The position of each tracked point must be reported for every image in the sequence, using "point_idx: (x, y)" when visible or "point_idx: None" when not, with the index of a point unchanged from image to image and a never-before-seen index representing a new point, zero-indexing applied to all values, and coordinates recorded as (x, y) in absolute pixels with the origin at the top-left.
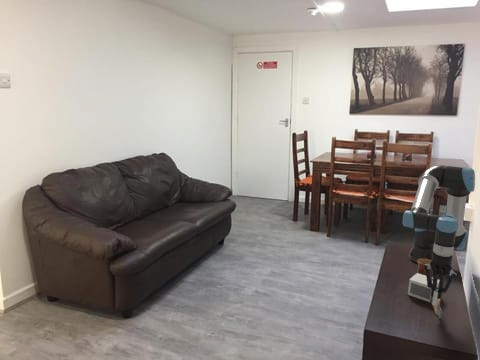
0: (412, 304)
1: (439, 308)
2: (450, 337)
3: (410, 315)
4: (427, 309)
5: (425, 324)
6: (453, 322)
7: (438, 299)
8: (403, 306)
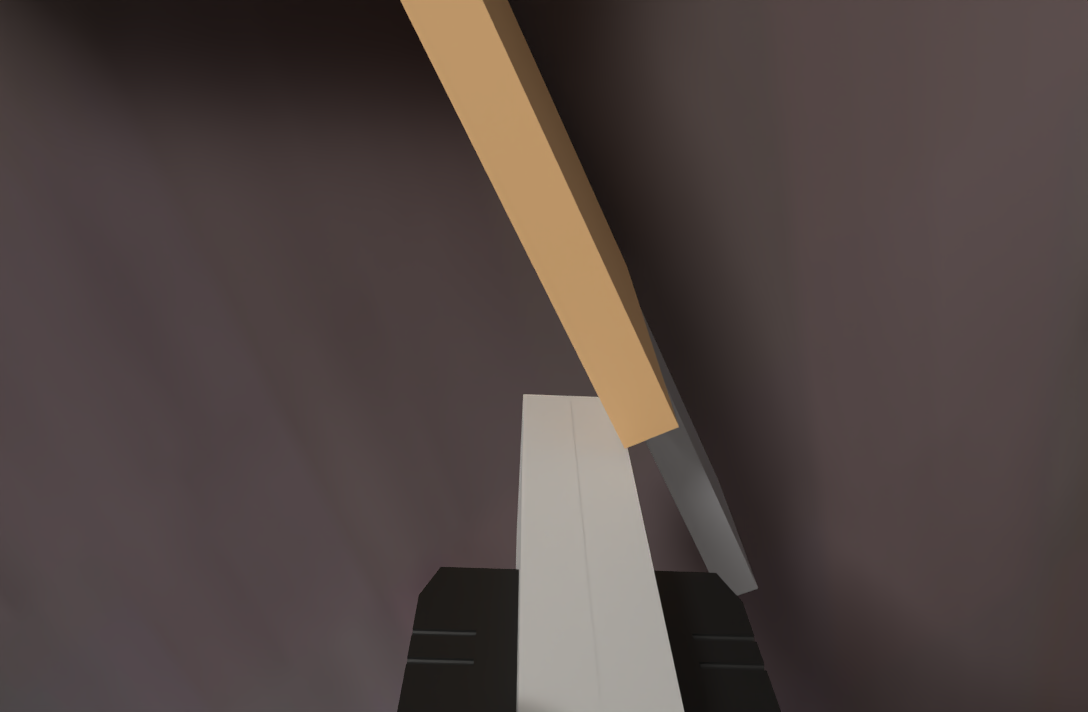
0: (77, 142)
1: (691, 532)
2: (877, 707)
3: (266, 546)
4: (387, 139)
5: None
6: (900, 304)
7: (625, 417)
8: (20, 348)
